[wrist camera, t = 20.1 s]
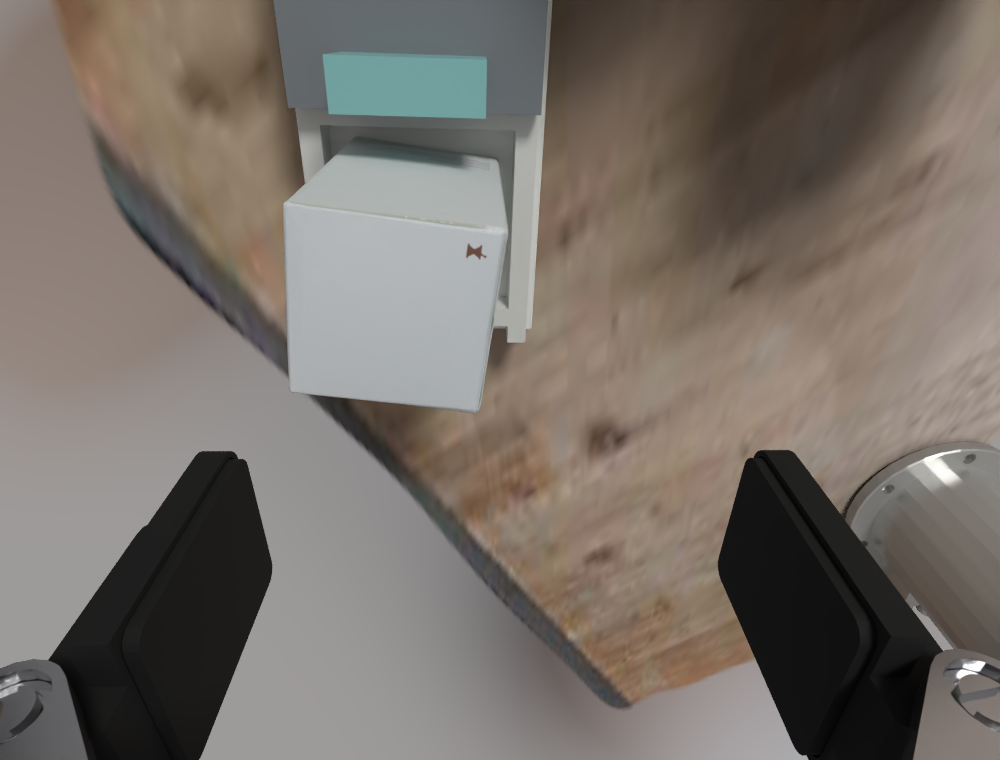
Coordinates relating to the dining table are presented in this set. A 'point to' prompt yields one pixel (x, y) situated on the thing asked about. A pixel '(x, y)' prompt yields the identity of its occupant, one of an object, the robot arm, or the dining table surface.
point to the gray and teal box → (413, 56)
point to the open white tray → (490, 137)
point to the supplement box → (394, 275)
